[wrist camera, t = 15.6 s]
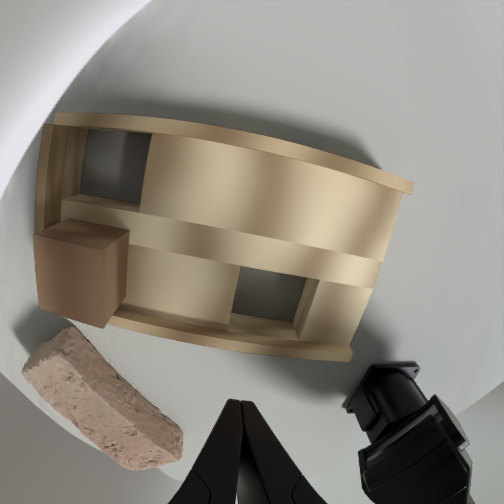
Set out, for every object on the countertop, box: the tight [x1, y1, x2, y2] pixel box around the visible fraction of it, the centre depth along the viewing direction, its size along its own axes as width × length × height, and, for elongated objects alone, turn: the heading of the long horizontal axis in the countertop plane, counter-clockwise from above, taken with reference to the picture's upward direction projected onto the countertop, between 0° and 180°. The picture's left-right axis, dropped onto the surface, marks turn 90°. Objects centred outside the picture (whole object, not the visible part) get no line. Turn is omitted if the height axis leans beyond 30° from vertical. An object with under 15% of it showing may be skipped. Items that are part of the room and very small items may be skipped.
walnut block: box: [34, 218, 130, 329], centre depth 15 cm, size 4×4×4 cm
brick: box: [22, 326, 183, 470], centre depth 22 cm, size 17×8×5 cm, turn 31°
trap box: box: [35, 112, 414, 362], centre depth 17 cm, size 22×13×4 cm, turn 78°
